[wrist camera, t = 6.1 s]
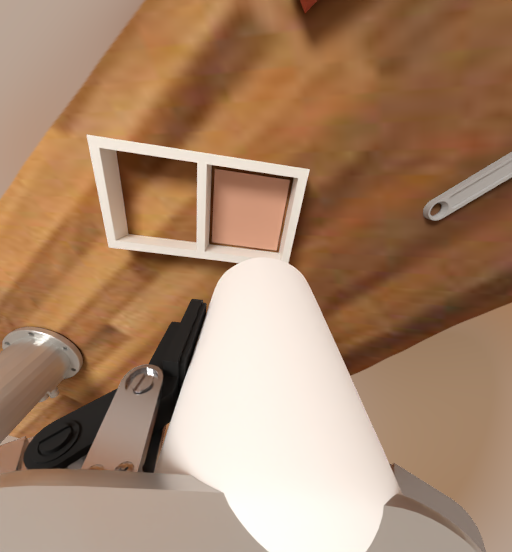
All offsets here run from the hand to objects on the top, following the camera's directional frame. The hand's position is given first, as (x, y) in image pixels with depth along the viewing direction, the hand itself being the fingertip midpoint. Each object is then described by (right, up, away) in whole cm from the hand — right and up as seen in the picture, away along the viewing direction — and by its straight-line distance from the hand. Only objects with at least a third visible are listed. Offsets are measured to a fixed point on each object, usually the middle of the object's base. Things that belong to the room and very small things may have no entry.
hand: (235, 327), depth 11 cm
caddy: (-5, +12, +16) cm, 20 cm away
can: (+2, +1, +3) cm, 4 cm away
